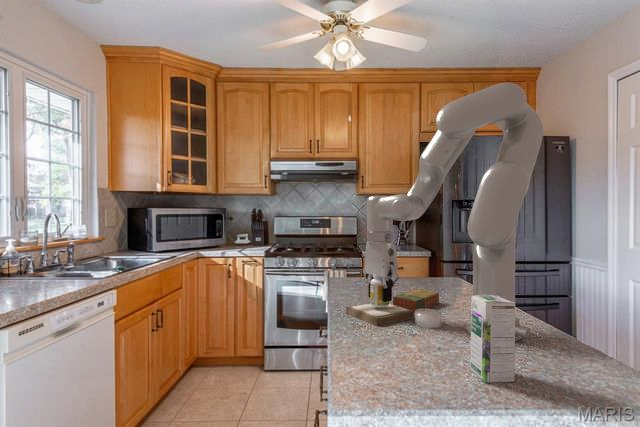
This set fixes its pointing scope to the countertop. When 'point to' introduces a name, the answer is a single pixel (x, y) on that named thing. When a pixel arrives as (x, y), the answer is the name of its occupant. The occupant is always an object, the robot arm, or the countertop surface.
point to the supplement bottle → (377, 292)
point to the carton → (416, 299)
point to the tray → (380, 313)
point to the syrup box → (493, 338)
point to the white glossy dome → (428, 318)
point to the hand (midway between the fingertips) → (379, 298)
